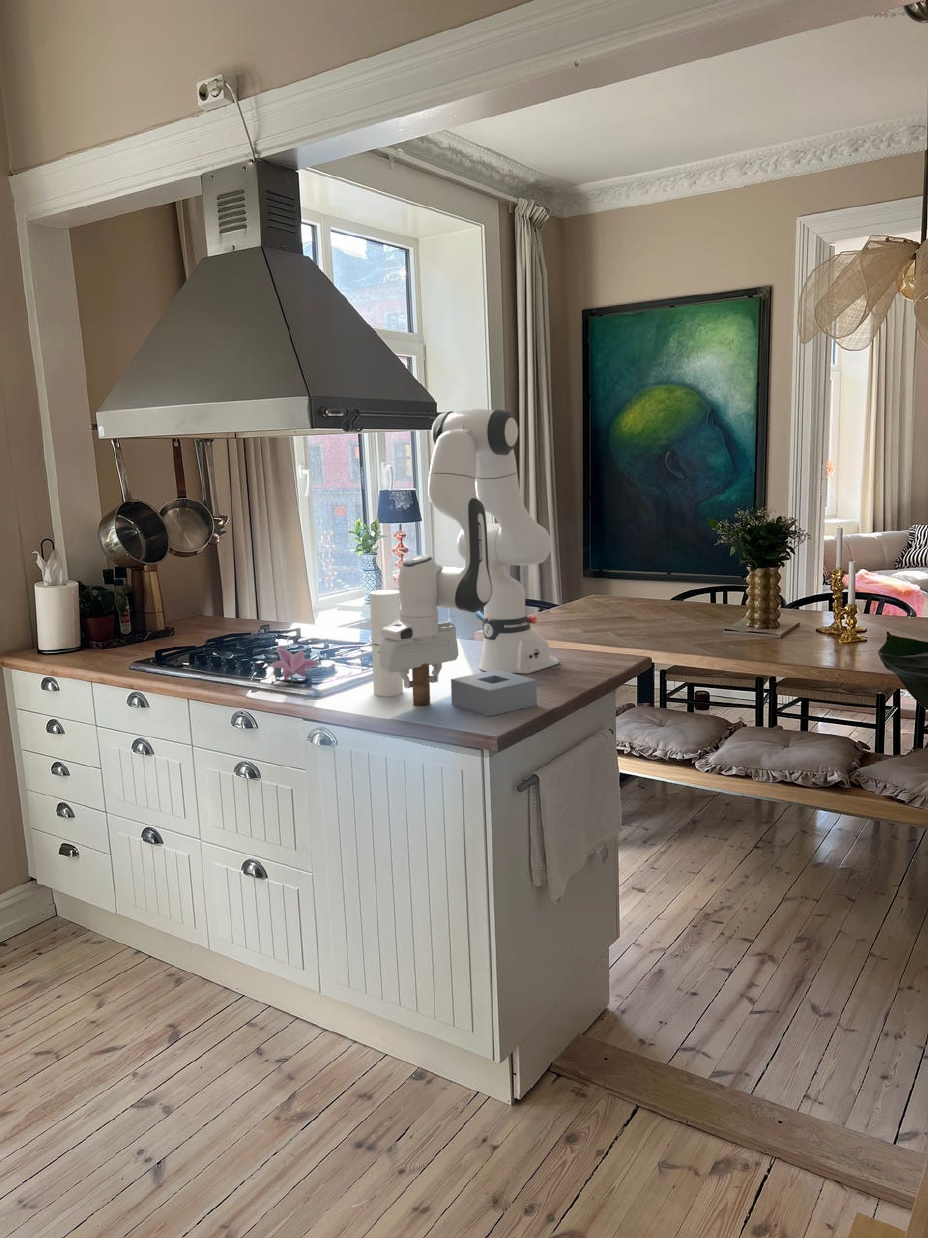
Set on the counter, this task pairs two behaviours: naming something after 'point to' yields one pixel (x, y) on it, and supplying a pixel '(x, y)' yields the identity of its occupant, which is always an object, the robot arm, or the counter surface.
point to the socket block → (494, 692)
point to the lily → (293, 663)
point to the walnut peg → (421, 685)
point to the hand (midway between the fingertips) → (421, 684)
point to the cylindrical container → (382, 615)
